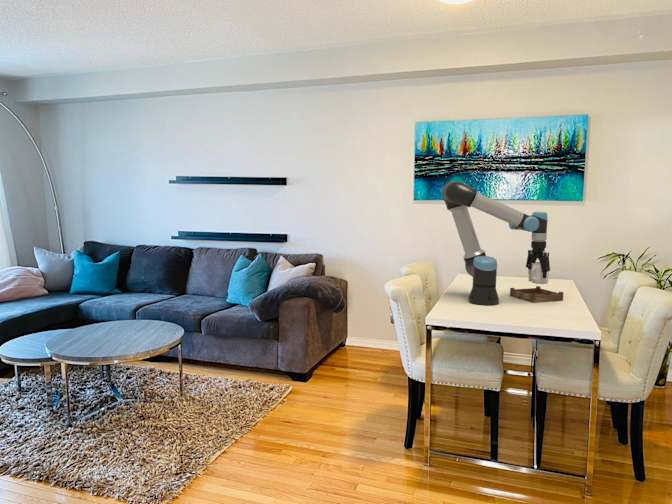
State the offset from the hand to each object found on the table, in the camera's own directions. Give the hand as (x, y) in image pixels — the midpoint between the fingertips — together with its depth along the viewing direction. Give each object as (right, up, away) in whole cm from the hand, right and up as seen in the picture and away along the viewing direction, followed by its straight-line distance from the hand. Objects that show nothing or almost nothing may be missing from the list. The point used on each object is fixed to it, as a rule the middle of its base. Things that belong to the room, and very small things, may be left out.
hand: (536, 282), depth 279 cm
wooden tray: (0, -9, +1) cm, 9 cm away
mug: (0, 0, 0) cm, 1 cm away
